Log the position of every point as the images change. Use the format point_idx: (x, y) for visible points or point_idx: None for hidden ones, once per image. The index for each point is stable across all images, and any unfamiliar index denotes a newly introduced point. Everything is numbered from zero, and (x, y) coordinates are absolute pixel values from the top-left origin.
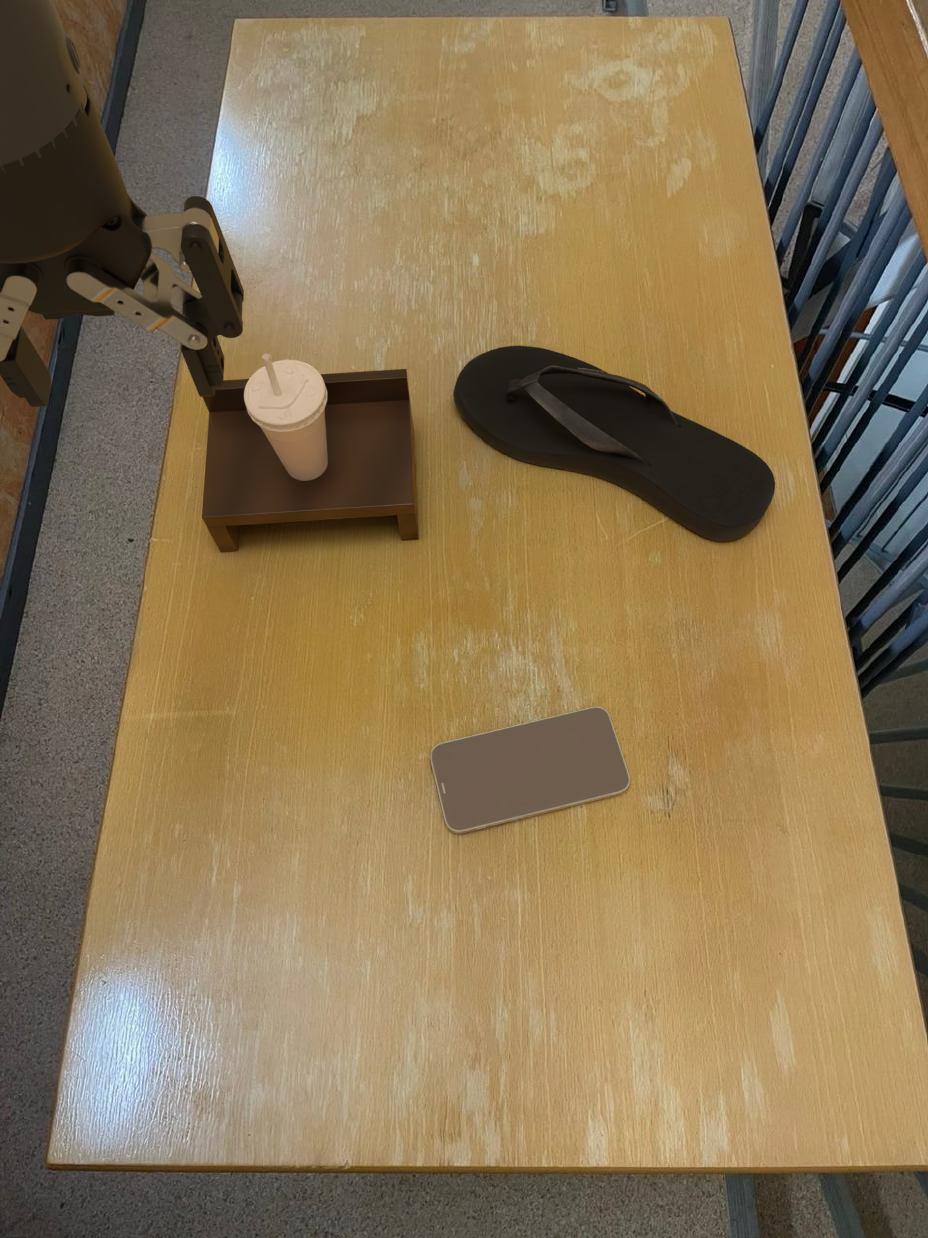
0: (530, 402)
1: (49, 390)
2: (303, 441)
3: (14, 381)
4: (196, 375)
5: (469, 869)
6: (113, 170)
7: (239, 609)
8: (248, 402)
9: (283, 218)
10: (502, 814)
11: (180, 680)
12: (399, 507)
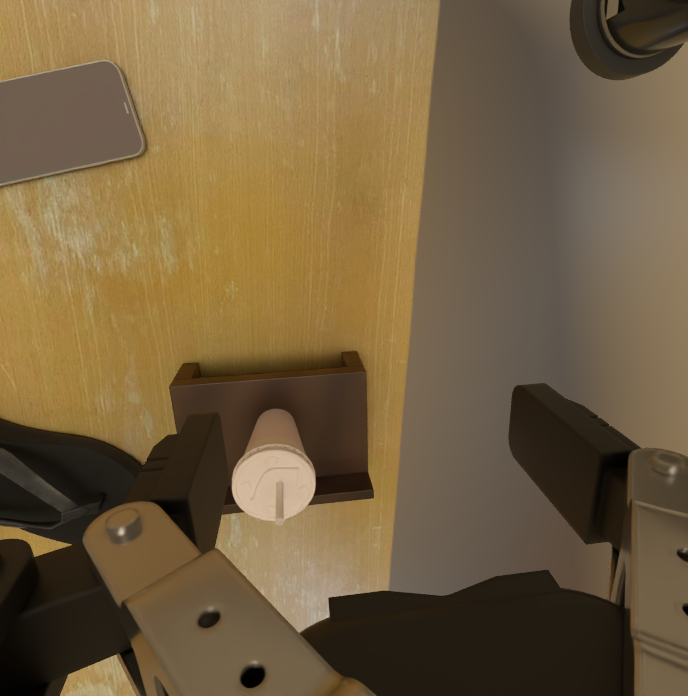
0: (84, 493)
1: (511, 420)
2: (260, 437)
3: (587, 416)
4: (193, 445)
5: (95, 25)
6: None
7: (336, 298)
8: (309, 473)
9: None
10: (63, 76)
11: (381, 232)
12: (184, 383)
